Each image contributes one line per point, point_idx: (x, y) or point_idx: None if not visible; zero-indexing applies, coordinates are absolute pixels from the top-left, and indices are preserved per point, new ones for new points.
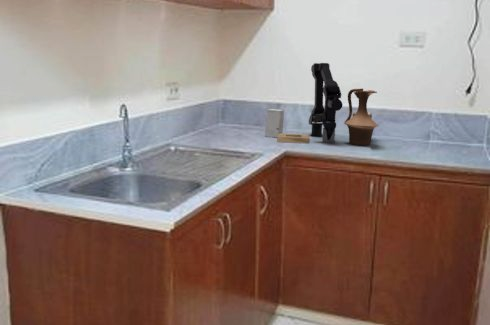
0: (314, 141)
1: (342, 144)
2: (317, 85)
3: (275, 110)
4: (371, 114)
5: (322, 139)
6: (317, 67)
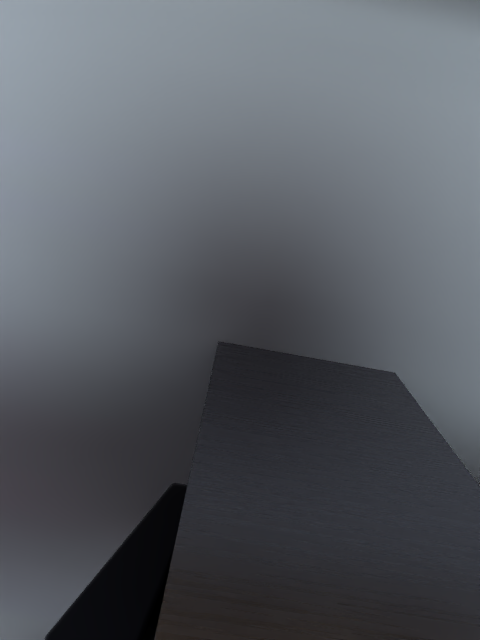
0: (388, 166)
1: (61, 609)
2: None
3: None
4: None
5: (376, 393)
6: None
